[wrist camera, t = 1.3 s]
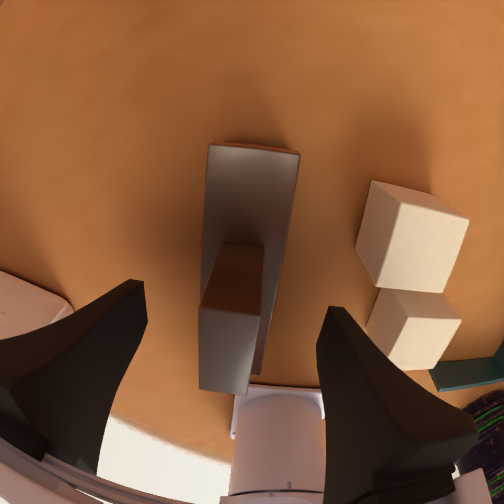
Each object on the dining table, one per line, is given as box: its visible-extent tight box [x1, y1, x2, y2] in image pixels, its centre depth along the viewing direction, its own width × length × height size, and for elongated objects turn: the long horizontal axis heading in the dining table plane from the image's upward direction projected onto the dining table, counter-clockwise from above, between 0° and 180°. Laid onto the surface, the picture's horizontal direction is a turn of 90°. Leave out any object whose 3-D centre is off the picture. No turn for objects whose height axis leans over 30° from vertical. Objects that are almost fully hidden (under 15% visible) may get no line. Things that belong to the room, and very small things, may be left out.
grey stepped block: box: [198, 141, 300, 396], centre depth 13 cm, size 12×4×8 cm, turn 174°
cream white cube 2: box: [355, 180, 469, 293], centre depth 13 cm, size 4×4×4 cm
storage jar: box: [454, 390, 504, 504], centre depth 18 cm, size 10×10×15 cm
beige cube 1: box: [366, 287, 462, 370], centre depth 16 cm, size 4×4×4 cm
